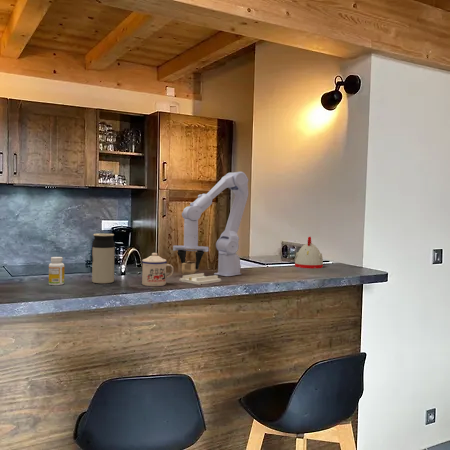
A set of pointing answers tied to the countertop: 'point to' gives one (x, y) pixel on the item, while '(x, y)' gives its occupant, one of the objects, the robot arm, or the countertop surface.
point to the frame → (189, 267)
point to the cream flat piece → (199, 279)
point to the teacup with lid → (155, 271)
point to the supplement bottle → (56, 271)
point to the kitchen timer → (309, 256)
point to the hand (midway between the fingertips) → (190, 268)
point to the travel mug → (103, 258)
